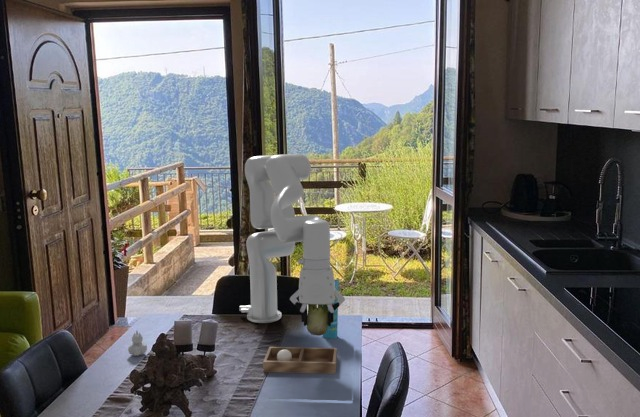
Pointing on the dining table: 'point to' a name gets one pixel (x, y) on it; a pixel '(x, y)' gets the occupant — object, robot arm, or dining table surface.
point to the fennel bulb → (317, 319)
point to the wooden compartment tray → (302, 360)
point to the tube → (332, 329)
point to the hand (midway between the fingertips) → (317, 323)
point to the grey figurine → (137, 345)
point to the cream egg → (284, 355)
